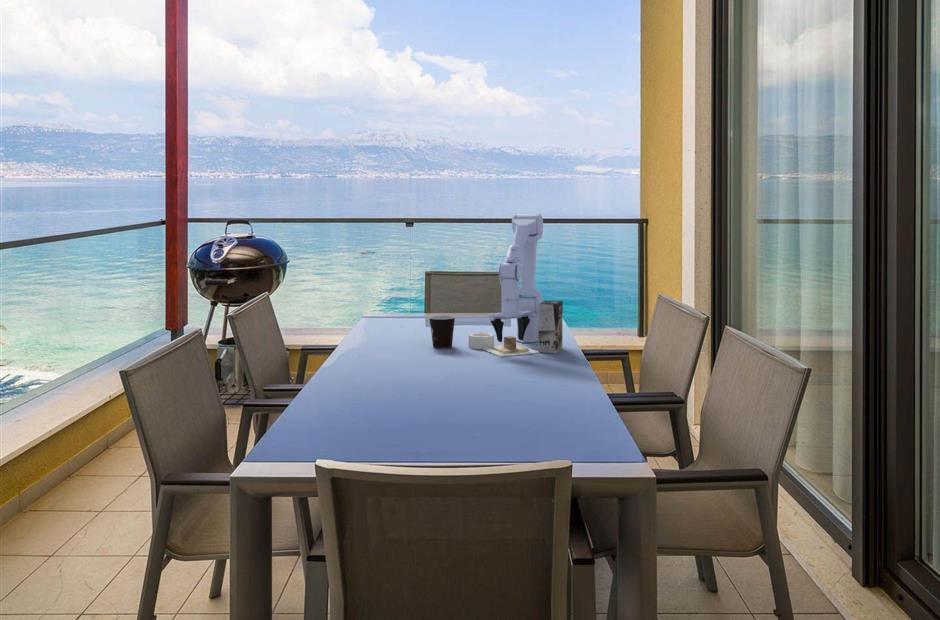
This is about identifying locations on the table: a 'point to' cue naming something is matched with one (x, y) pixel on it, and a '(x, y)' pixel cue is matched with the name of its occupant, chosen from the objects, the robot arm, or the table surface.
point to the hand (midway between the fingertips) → (510, 340)
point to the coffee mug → (442, 331)
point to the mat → (509, 353)
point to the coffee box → (550, 326)
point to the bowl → (481, 340)
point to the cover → (510, 346)
